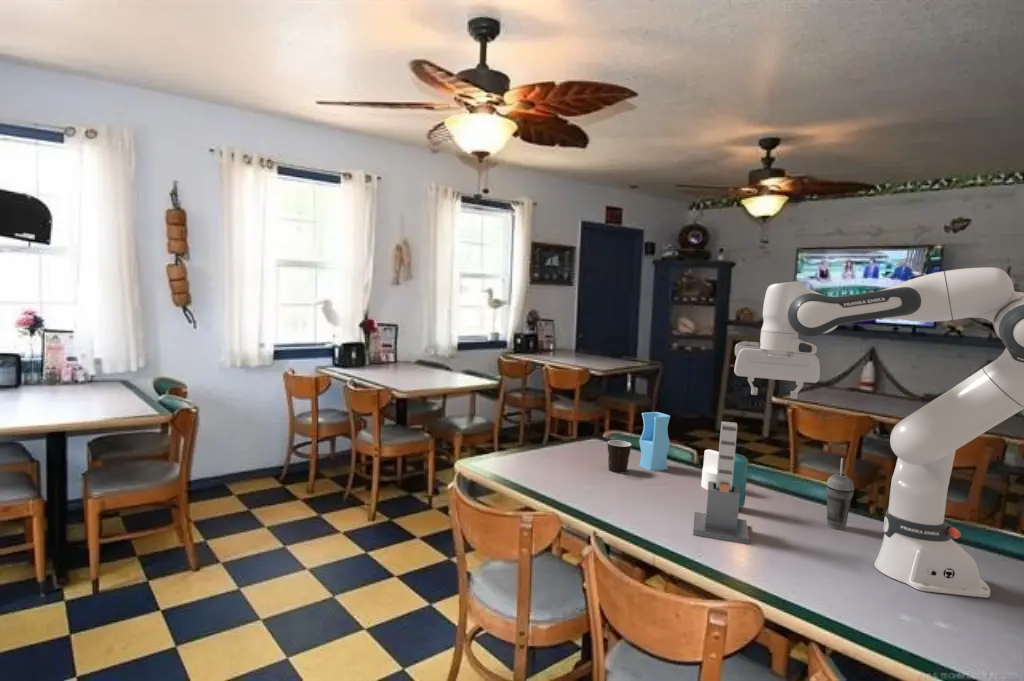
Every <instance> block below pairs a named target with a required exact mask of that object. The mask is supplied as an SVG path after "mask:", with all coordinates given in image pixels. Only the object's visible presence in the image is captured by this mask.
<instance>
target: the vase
mask: <svg viewBox="0 0 1024 681" xmlns="http://www.w3.org/2000/svg"><path fill="white" fill-rule="evenodd" d="M641 416H642V421H643V428H642V429H643V430H642V433H641V435H640V438H639V441H638V443H639V447H640V448H639V449H640V462H639V465H638V466H639V467H641V468H643V469H645V470H648V471H651V472H659V471H665V470H668V469H669V468H668V461H667V460H668V459H667V458H668V453H669V449H670V446H671V442H670V439H669V433H668V431H669V430H668V426H669V422H670V418H671V415H669V414H666V413H662V412H658V411H651V412H642V413H641Z"/></svg>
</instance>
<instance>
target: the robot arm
mask: <svg viewBox="0 0 1024 681" xmlns="http://www.w3.org/2000/svg"><path fill="white" fill-rule="evenodd" d="M762 318H763V321H762V322H763V323H762V326H761V329H760V338H759V341H747V340H743V341H739V342H738V343H736V344H735V346H734V356H735V357H736V359H735V363H734V369H733V370H734V374H735V376H737V377H745V378H746V377H747V382H748V384H749V386H750V390H751V391H750V394H751V395H752V396H758V391H759V388H758V387H755V386H754V384H753V382H754V381H755V378H756V379H768V380H778V381H779V380H780V381H789V382H790V381H792V382H795V385H796V388H794V390H790V393H789V394H790V395H789V398H790V399H793V400H798V393H799V392H800V391H801V390H802V388H804V383H810V384H816V383H818V382H819V381H820V375H821V368H820V367H821V365H820V360H819V358H818V356H817V355H815V354H816V353H817V351H818V347H817V346H816V345H815V344H813V343H811V342H807V341H806V340H804V339H799V335H801V336H805V337H816V336H819V335H822V334H828V333H830V332H832V331H834V330H835V329H836V328H838V327H839V326H841V325H844V324H845V325H846V324H850V323H851V324H852V323H858V322H859V323H860V322H867V321H872V320H873V321H874V320H882V319H883V320H885V319H892V320H901V321H902V320H903V321H909V322H920V323H921V322H923V323H924V322H925V323H928V322H929V323H930V322H932V323H933V322H934V323H935V322H947V321H956V320H962V319H969V318H971V319H972V318H973V319H975V318H979V319H984V320H988V321H990V322H991V324H992V326H993V329H994V332H995V333H996V335H997V337H998V338H999V339H1000V340H1001V343H1003V345H1004V347H1005V349H1004V350H1003V352H1002V353H1001V354H1000V355H999V356H998V357H997V358H996V359H995V360H993V361H992V362H990V363H988V364H987V365H985V366H984V367H982V368H980V369H979V370H978V371H976V372H975V373H972V375H970V376H968V377H967V378H966V379H964V380H962V381H961V382H959V383H957V384H956V385H955V386H954V387H953V386H952V388H951V389H949V390H947V391H946V392H944V393H942V394H941V395H939V396H937V397H936V398H934V399H933V400H931V401H930V402H928V403H926V404H925V405H923V406H922V407H920V408H919V409H917V410H915V411H914V412H911V414H909V415H907V416H906V417H905V418H903V419H901V420H900V421H899V422H897V423H896V424H895V425H894V427H893V428H892V430H891V433H890V439H889V443H890V449H891V450H892V452H893V453H894V455H895V456H896V457H897V459H896V463H895V468H894V471H893V474H892V477H891V484H890V490H889V499H888V500H889V501H888V508H887V509H886V511H885V516H884V519H883V521H884V522H883V533H884V535H883V538H882V543H881V546H880V549H879V553H878V555H877V556H876V559H875V561H874V563H873V564H874V567H875V568H876V569H877V570H878V571H879V572H880V573H881V574H883V575H886V576H887V577H889V578H892V579H894V580H896V581H899V582H901V583H904V584H906V585H908V586H910V587H912V588H914V589H916V590H919V591H921V592H930V593H938V594H939V593H940V594H946V595H947V594H948V595H957V596H964V597H965V596H967V597H975V598H976V597H978V598H985V599H987V598H988V599H989V598H990V597H991V589H990V587H989V585H988V584H987V583H986V581H985V580H983V579H982V578H981V577H980V574H979V568H978V565H977V562H976V561H975V559H974V558H973V557H972V556H971V555H970V554H969V553H968V552H967V551H966V550H964V548H962V547H961V546H960V545H959V544H958V543H957V542H956V541H954V540H953V539H959V538H961V536H962V533H961V531H960V530H959V529H958V528H955V527H953V526H952V525H951V524H949V523H948V522H946V521H945V513H946V506H947V505H946V504H947V497H948V496H947V495H948V489H949V485H950V480H951V474H952V470H953V467H954V466H953V465H954V460H955V456H956V452H957V450H958V449H960V448H961V447H963V446H965V445H967V444H968V443H970V442H972V441H973V440H974V439H976V438H978V437H979V436H981V435H982V434H984V433H986V432H987V431H990V429H993V428H994V427H996V426H998V425H1000V424H1001V423H1003V422H1004V421H1006V420H1007V419H1009V418H1011V417H1013V416H1014V415H1016V414H1017V413H1019V412H1021V411H1022V410H1024V290H1021V289H1018V288H1014V283H1013V280H1012V279H1011V277H1010V276H1009V275H1008V273H1007V272H1006V271H1004V269H1001V268H999V267H991V266H989V267H968V268H967V267H965V268H959V269H958V268H957V269H950V270H949V269H948V270H944V271H938V272H932V273H928V274H925V275H922V276H918V277H914V278H912V279H909V280H906V281H903V282H901V283H898V284H895V285H893V286H890V287H887V288H883V289H881V290H876V291H871V292H870V291H868V292H864V293H856V294H850V295H842V296H829V295H825V294H822V293H819V292H817V291H815V290H812V289H810V288H808V286H805V285H804V284H803V283H801V282H800V281H799V280H795V279H794V280H793V279H792V280H781V281H776V282H773V283H771V284H770V285H768V286H767V289H766V291H765V296H764V299H763V308H762Z"/></svg>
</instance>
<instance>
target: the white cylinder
mask: <svg viewBox="0 0 1024 681" xmlns="http://www.w3.org/2000/svg"><path fill="white" fill-rule="evenodd" d="M703 453H704V455H703V466H702V471H701V482H700V487H702V489H704V490H706V491H708V481H710V482H716V479H717V467H718V455H719V451H717V450H713V449H710V448H709V449H705V450H704V452H703Z"/></svg>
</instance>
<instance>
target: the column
mask: <svg viewBox="0 0 1024 681" xmlns="http://www.w3.org/2000/svg"><path fill="white" fill-rule="evenodd" d="M720 423H721V424H720V433H719V445H718V452H719V455H718V467H717V479H716V489H717V490H719V487H720V483H721V484H728V485H729V491H730V492H732V482H733V471H734V459H735V454H736V452H735V448H736V444H737V434H738V424H737V422H731V421H724V420H723V421H721V422H720Z"/></svg>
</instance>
